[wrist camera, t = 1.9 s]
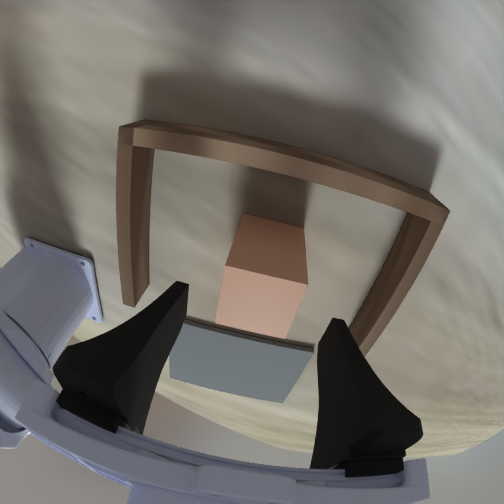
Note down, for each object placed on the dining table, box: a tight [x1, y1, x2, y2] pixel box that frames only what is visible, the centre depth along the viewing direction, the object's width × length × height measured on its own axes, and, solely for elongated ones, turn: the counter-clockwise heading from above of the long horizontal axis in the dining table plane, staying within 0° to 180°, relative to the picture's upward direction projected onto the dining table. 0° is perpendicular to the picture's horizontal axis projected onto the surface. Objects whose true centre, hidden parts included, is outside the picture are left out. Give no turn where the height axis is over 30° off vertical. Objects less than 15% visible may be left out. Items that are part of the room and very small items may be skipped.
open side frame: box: [116, 120, 450, 357], centre depth 18 cm, size 19×13×3 cm
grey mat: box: [169, 320, 314, 403], centre depth 27 cm, size 13×10×1 cm
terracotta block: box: [215, 214, 308, 339], centre depth 17 cm, size 4×4×6 cm
